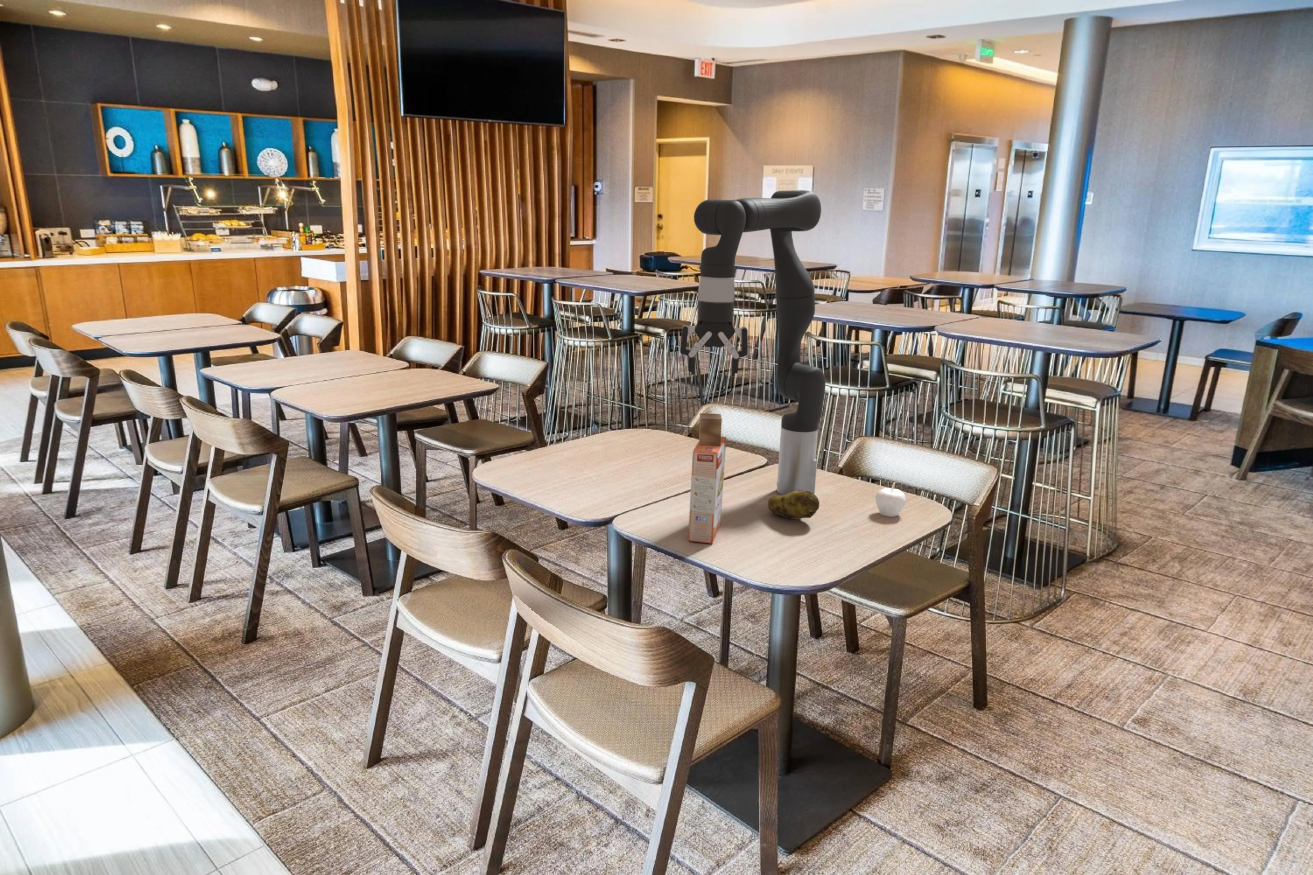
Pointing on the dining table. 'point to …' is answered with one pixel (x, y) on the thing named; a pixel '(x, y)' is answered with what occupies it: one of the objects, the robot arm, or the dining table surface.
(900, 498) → the plain white apple
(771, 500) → the potato
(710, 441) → the walnut block
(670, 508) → the dining table surface
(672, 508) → the dining table surface
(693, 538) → the cracker box
